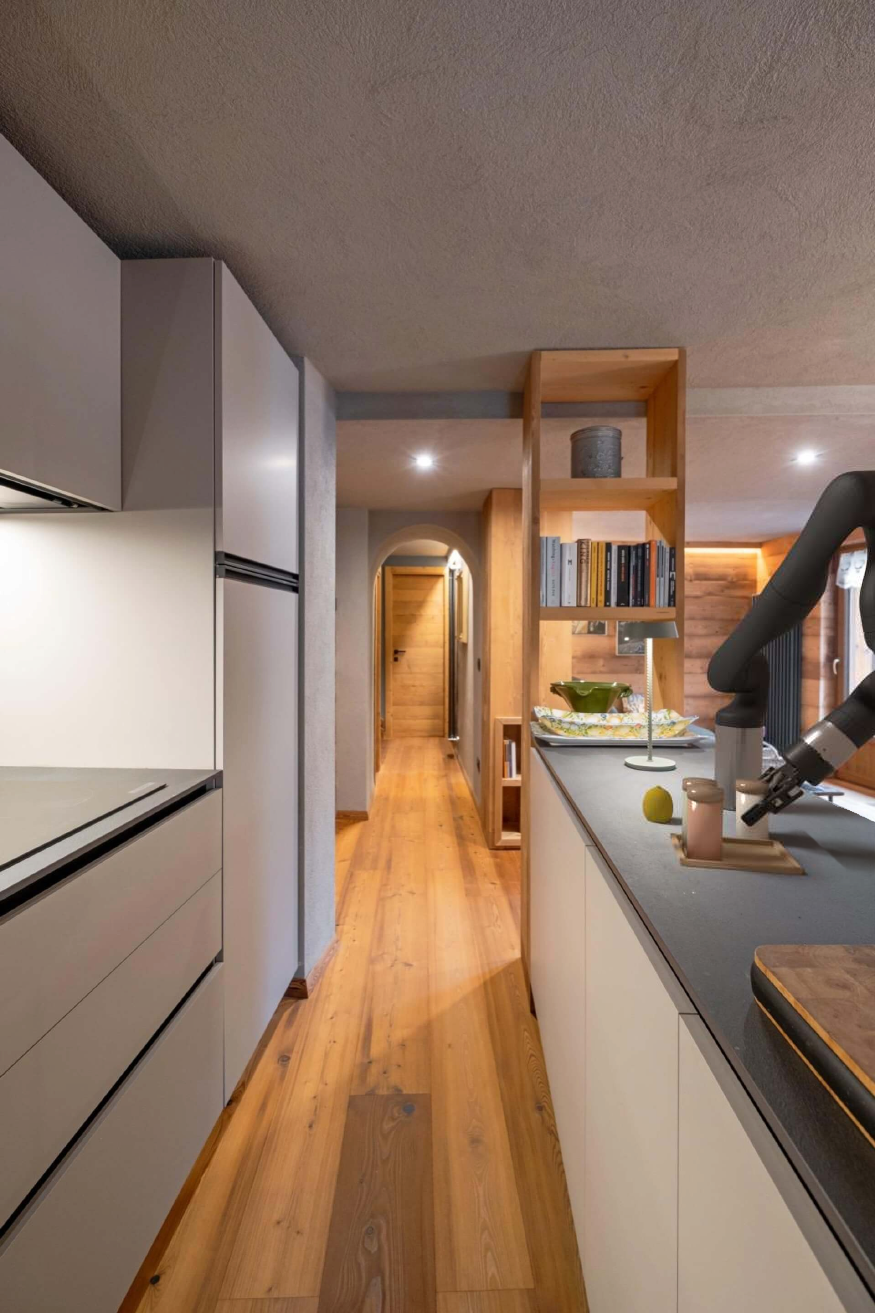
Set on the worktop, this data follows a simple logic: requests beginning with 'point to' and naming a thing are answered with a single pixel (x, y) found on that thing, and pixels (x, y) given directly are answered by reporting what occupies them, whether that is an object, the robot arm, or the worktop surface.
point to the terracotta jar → (704, 822)
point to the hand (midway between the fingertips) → (741, 817)
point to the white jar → (745, 799)
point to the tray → (744, 856)
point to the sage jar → (685, 784)
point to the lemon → (658, 805)
